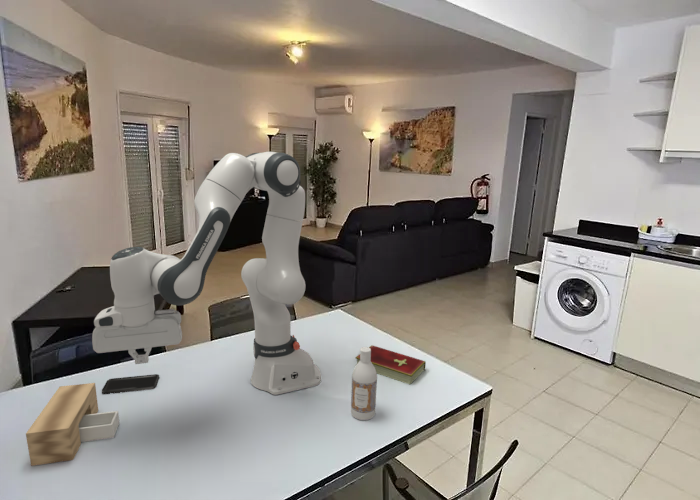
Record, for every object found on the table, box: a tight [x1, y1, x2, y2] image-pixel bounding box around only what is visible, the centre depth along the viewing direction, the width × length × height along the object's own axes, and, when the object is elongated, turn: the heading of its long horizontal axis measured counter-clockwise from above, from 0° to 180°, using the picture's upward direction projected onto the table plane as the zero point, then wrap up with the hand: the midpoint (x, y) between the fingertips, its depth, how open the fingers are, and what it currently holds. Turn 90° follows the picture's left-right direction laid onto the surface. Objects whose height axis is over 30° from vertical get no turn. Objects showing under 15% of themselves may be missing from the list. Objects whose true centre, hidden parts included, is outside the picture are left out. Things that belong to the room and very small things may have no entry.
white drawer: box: [78, 410, 120, 443], centre depth 108 cm, size 14×6×4 cm, turn 106°
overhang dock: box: [25, 382, 99, 467], centre depth 106 cm, size 8×20×8 cm, turn 15°
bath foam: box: [350, 346, 378, 421], centre depth 118 cm, size 7×7×20 cm
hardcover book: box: [355, 344, 426, 385], centre depth 145 cm, size 12×21×4 cm, turn 58°
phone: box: [101, 373, 160, 395], centre depth 131 cm, size 8×1×15 cm
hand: (142, 362), depth 108 cm, fingers closed
